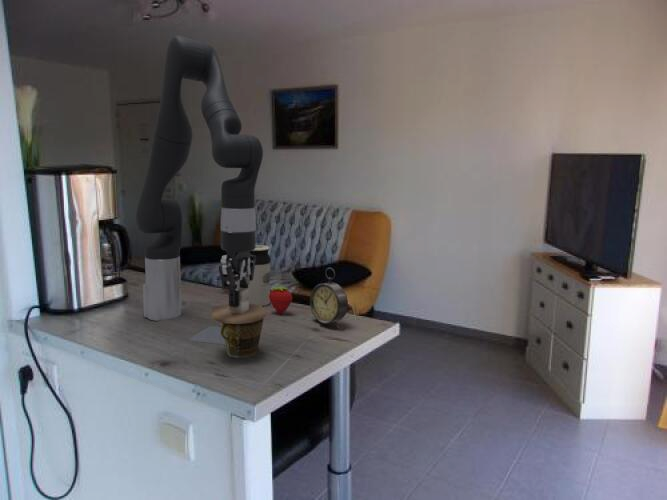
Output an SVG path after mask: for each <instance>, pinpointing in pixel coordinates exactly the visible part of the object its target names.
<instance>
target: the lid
mask: <svg viewBox="0 0 667 500" xmlns="http://www.w3.org/2000/svg"><path fill="white" fill-rule="evenodd" d="M266 316H267V309H266V308H265V306H259V305H255V304H249V288H239V306H238V307H230V306H229V303H228V304H224V305H220V306H217V307H215V308H213V309H212V310H211V318H212V320H213V321H216V322H217V323H221V322H222V323H228V324H244V323H251V322H256V321H259V320H261V319H263V318H264V319H265V318H266ZM264 319H263V320H264Z"/></svg>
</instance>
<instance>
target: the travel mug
mask: <svg viewBox="0 0 667 500" xmlns="http://www.w3.org/2000/svg"><path fill="white" fill-rule="evenodd" d="M269 250H270V247H269V246H268V245H262V244H256V248H255V249H254V250H252V251H250V255H255V256H256V262H255V269H254V276H253V280H252V281H250V284H249V285H248V288H249V304H255V305H259V306H262V307H265V306H268V305H269V304H271V302H270V299H269V294H270V292H271V257H270V254H269Z"/></svg>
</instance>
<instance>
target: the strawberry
mask: <svg viewBox="0 0 667 500" xmlns="http://www.w3.org/2000/svg"><path fill="white" fill-rule="evenodd" d="M277 282H278V286H275V287H274V288H270V294H269V299H270V304H271V306H272V307H273V309H275V311H276V312H277V314H278V315H281V316H282V315H283V314H284V313H285V312H286V311H287V310H288V308H289V307H290V305H291V303H292V300H293V296H292V293H291V292H290V290H288V289H289V287H286V286H280V283H279V282H280V281H277Z"/></svg>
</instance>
